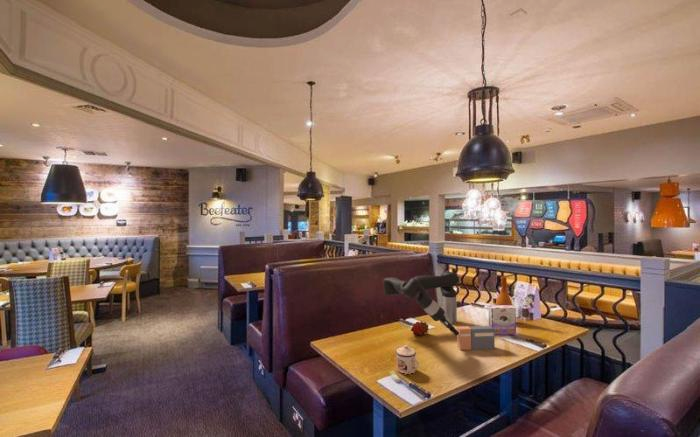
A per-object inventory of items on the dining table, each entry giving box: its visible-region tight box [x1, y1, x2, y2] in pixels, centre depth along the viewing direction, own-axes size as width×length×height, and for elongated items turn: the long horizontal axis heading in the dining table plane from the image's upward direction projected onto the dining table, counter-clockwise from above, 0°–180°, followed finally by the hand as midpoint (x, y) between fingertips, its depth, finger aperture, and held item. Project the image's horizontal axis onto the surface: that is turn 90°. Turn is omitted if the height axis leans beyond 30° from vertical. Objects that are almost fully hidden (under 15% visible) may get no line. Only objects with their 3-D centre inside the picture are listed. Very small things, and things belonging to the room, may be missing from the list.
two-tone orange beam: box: [456, 325, 472, 351], centre depth 173 cm, size 6×4×11 cm
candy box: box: [488, 304, 517, 336], centre depth 192 cm, size 14×6×16 cm, turn 84°
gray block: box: [469, 325, 496, 351], centre depth 173 cm, size 12×4×11 cm, turn 91°
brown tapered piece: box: [495, 276, 513, 306], centre depth 211 cm, size 10×10×30 cm
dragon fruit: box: [410, 320, 429, 337], centre depth 194 cm, size 8×8×12 cm
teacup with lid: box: [395, 344, 420, 375], centre depth 150 cm, size 12×9×12 cm
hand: (454, 331), depth 172 cm, fingers open, 8 cm apart
